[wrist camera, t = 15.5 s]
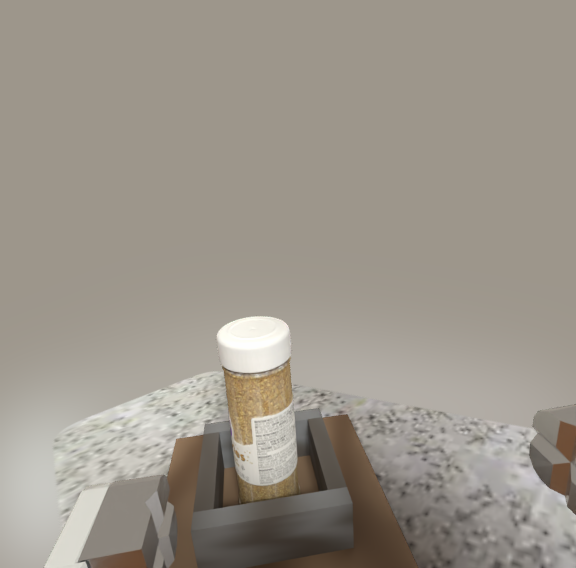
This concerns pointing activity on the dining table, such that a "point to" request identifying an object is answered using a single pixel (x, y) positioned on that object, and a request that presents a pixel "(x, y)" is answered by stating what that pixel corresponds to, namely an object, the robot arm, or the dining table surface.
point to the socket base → (284, 505)
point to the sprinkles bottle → (260, 406)
